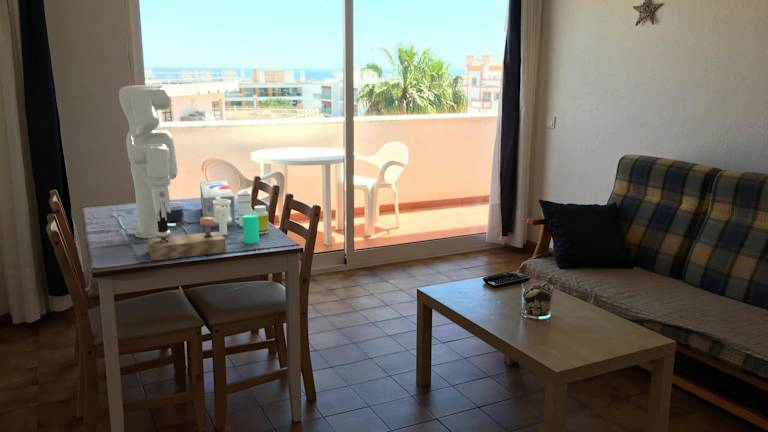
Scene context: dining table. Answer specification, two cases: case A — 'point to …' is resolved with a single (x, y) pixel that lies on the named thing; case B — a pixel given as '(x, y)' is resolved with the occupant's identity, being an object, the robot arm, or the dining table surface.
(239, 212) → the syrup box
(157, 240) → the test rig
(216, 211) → the white cylindrical holder
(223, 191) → the soda pack
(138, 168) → the robot arm
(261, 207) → the pill bottle
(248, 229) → the candle
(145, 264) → the dining table surface
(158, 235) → the silver oval piece
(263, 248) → the dining table surface
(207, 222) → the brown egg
